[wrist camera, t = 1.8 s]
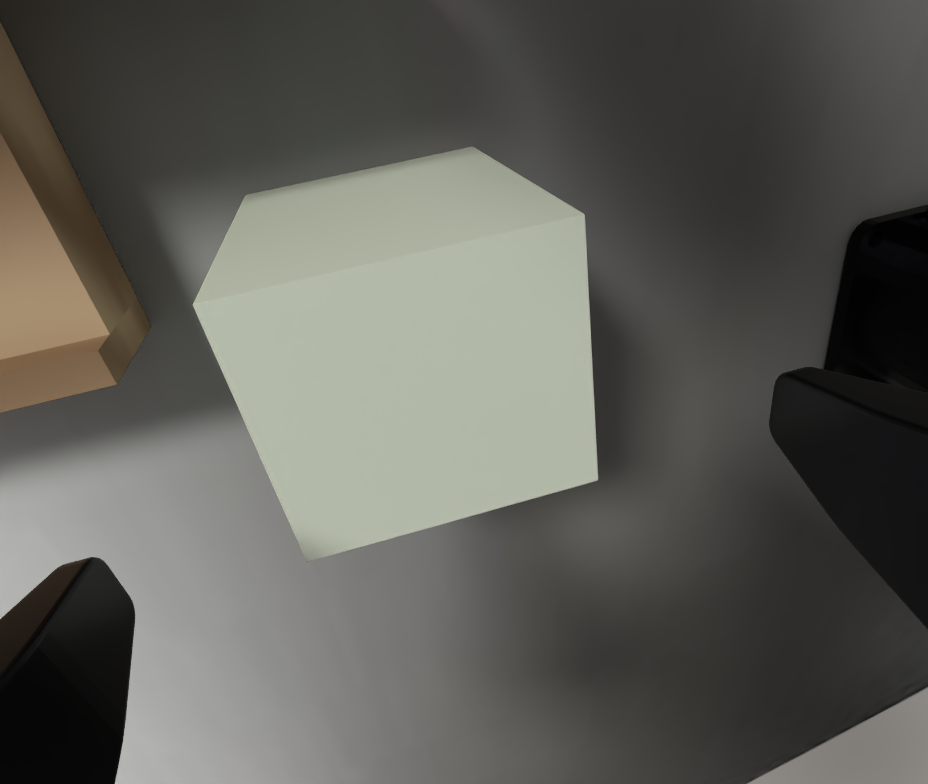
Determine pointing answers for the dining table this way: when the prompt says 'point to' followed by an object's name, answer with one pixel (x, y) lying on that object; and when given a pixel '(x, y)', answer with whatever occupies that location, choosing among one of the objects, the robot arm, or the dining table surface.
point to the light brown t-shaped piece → (53, 264)
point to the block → (406, 345)
